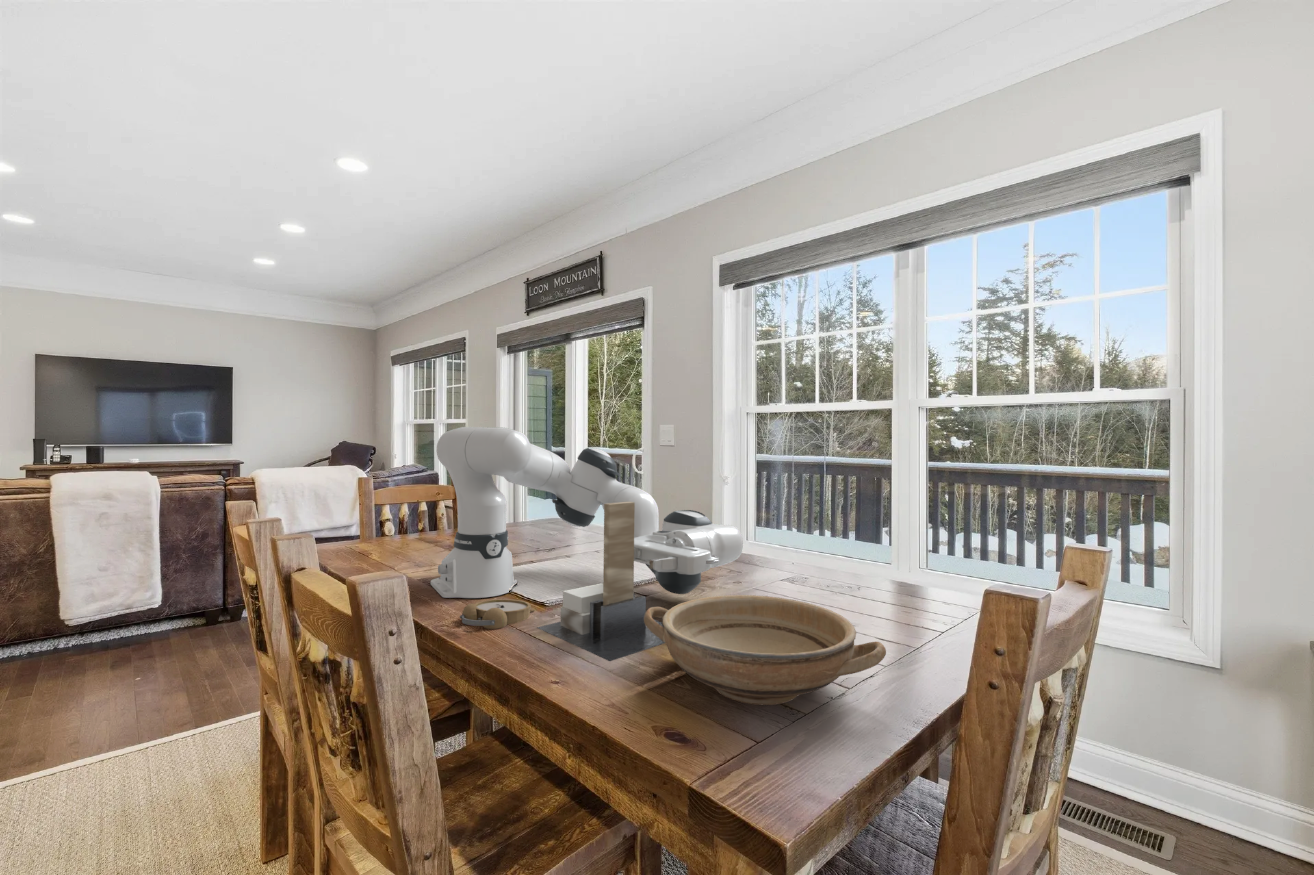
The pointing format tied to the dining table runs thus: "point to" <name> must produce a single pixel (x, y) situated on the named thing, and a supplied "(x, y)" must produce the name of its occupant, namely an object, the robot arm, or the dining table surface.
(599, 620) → the slot rack
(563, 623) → the offcut lower
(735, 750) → the dining table surface
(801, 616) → the ceramic bowl
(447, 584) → the robot arm
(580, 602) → the offcut upper
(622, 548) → the birch board
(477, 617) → the alarm clock
